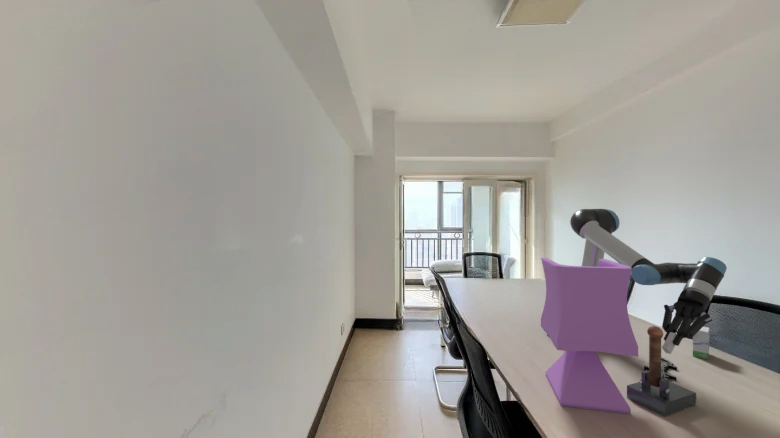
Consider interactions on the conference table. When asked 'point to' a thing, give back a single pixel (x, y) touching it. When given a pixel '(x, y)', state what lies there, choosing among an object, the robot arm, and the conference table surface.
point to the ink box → (701, 343)
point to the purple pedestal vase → (587, 331)
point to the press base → (661, 395)
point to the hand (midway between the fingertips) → (666, 350)
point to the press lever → (655, 355)
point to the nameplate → (665, 369)
